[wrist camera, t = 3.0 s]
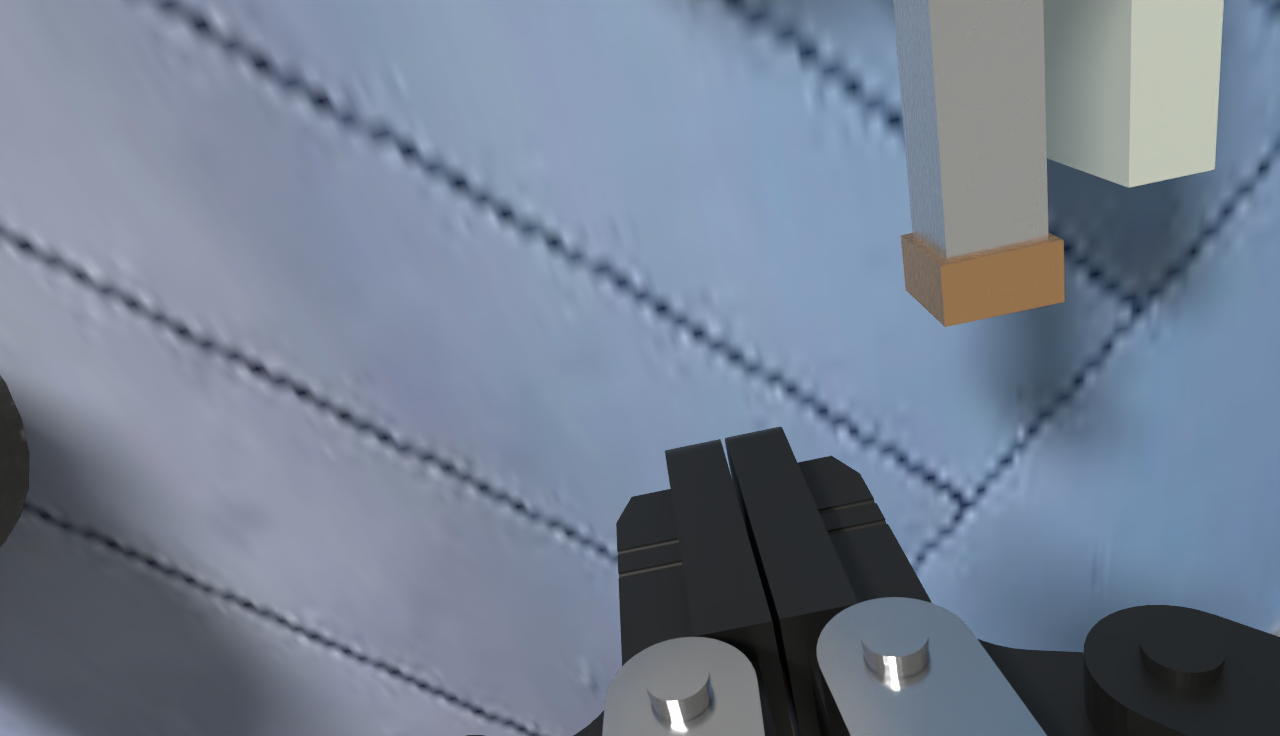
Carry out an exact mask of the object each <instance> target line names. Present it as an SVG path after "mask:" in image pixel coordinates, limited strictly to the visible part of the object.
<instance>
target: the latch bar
mask: <svg viewBox="0 0 1280 736" xmlns="http://www.w3.org/2000/svg"><path fill="white" fill-rule="evenodd" d="M893 8H894V19H895V31H896V43H897V55H898V66H899V78H900V90H901V102H902V113H903V125H904V137H905V149H906V160H907V172H908V184H909V196H910V207H911V219H912V231H913V233H910V234H905V235H901V243H902V254H903V265H904V276H905V287H906V291H907V292H909V293H910V294H911V295H912V296H913V297H914V298H915V299H916V300H917V301H918V302H919V303H920V304H921V305H922V306H923V307H924V308H926V309H927V310H928V311H929V312H930V313H931V314H932V315H933V316H934V317H935V318H936V319H937V320H938V321H939V322H940V323H941V324H943V325H944V326H945V327H947V326H952V325H956V324H961V323H966V322H971V321H975V320H980V319H985V318H990V317H995V316H999V315H1004V314H1009V313H1014V312H1019V311H1023V310H1028V309H1033V308H1038V307H1042V306H1047V305H1052V304H1057V303H1062V302H1065V290H1064V240H1062V239H1060V238H1058V237H1056V236H1054V235H1052V234H1051V233H1049V232H1048V194H1047V148H1046V103H1045V58H1044V12H1043V0H893Z"/></svg>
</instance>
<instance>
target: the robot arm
mask: <svg viewBox="0 0 1280 736" xmlns="http://www.w3.org/2000/svg"><path fill="white" fill-rule="evenodd" d="M725 443H726V450H727V455H728V461H729V466H730V471H731V475H730V471H729V468H728V464H727V461H726V457H725V454H724V450H723V447H722V443H721V440H720V439H719V440H714V441H709V442H705V443H700V444H695V445H690V446H685V447H680V448H675V449H671V450H666V451H665V455H666V461H667V468H668V474H669V481H670V487H671V489H668V490H663V491H658V492H654V493H649V494H644V495H639V496H634V497H631V499H630V501H629V503H628V504H627V506H626V508H625V509H624V511H623V513H622V515H621V516H620V518H619V520H618V521H617V523H616V526H617V550H618V555H619V556H618V573H619V578H620V579H619V598H620V622H621V646H622V667H621V668H620V669H619V671H618V672H617V673H616V675H615V676H614V678H613V679H612V681H611V683H610V685H609V688H608V690H607V694H606V699H605V708H604V711H603V712H602V713H601V714H600V715H599V716H598V717H597V718H596V719H595V720H594V721H593V722H592V723H591V724H589V725H588V726H587V727H586V728H584V729H583V730H581V731H580V732H578V733H577V734H576V735H574V736H793V732H794V736H1280V637H1277V636H1275V635H1272V634H1269V633H1266V632H1263V631H1260V630H1257V629H1254V628H1251V627H1248V626H1246V625H1243V624H1240V623H1237V622H1234V621H1231V620H1228V619H1225V618H1222V617H1220V616H1217V615H1214V614H1210V613H1207V612H1203V611H1200V610H1196V609H1191V608H1186V607H1179V606H1169V605H1146V606H1137V607H1132V608H1127V609H1123V610H1120V611H1117V612H1115V613H1112V614H1110V615H1108V616H1106V617H1105V618H1103V619H1102V620H1100V621H1099V622H1098V623H1097V624H1096V625H1095V626H1094V627H1092V629H1091V630H1090V632H1089V634H1088V635H1087V637H1086V641H1085V644H1084V653H1081V652H1060V651H1039V650H1024V649H1014V648H1008V647H1003V646H998V645H995V644H991V643H988V642H985V641H982V640H979V639H977V638H976V637H975V635H974V634H973V632H972V631H971V630H970V628H969V627H968V626H967V625H966V624H965V623H964V622H963V621H962V620H961V619H960V618H958V617H957V616H956V615H955V614H953V613H952V612H950V611H948V610H946V609H945V608H943V607H940V606H938V605H935V604H933V603H932V602H931V600H930V599H929V597H928V595H927V593H926V591H925V590H924V588H923V586H922V584H921V582H920V581H919V579H918V577H917V575H916V574H915V572H914V570H913V568H912V566H911V565H910V563H909V561H908V559H907V557H906V556H905V554H904V552H903V550H902V548H901V547H900V545H899V543H898V541H897V539H896V538H895V536H894V534H893V532H892V530H891V529H890V527H889V525H888V524H886V521H885V518H884V516H883V514H882V512H881V511H880V509H879V507H878V505H877V504H876V503H875V502H874V498H873V496H872V495H871V493H870V491H869V489H868V487H867V486H866V484H865V482H864V480H863V478H862V477H861V475H860V473H858V472H857V471H855V470H853V469H852V468H850V467H849V466H847V465H845V464H844V463H842V462H841V461H839V460H837V459H836V458H834V457H832V456H828V457H823V458H818V459H814V460H809V461H804V462H799V463H797V461H796V459H795V456H794V454H793V452H792V449H791V447H790V445H789V442H788V440H787V438H786V436H785V433H784V431H783V429H782V427H776V428H771V429H767V430H762V431H757V432H752V433H747V434H742V435H737V436H733V437H728V438H725ZM731 476H732V478H731ZM732 481H733V482H732ZM791 725H792V726H791ZM792 728H793V731H792ZM468 736H483V735H468Z"/></svg>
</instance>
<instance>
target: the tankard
mask: <svg viewBox="0 0 1280 736" xmlns="http://www.w3.org/2000/svg"><path fill="white" fill-rule="evenodd" d="M28 487H29V451H28V446H27V441H26V437H25V432H24V428H23V423H22V419H21V417H20V414H19V412H18V410H17V408H16V405H15V403H14V401H13V399H12V396H11V394H10V392H9V390H8V387H7V385H6V383H5V381H4V380H3V379H2V377H1V376H0V546H1V545H2V544H3V543H4V542H5V541H6V539H7V537H8V536H9V534H10V533H11V531H12V529H13V528H14V526H15V524H16V523H17V521H18V519H19V518H20V515H21V512H22V508H23V505H24V501H25V498H26V494H27V491H28Z"/></svg>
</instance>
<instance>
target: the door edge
mask: <svg viewBox="0 0 1280 736" xmlns="http://www.w3.org/2000/svg"><path fill="white" fill-rule="evenodd" d="M1223 5H1224V0H1043V12H1044V58H1045V103H1046V148H1047V159H1050V160H1052V161H1055V162H1058V163H1061V164H1064V165H1066V166H1069V167H1072V168H1075V169H1078V170H1080V171H1083V172H1086V173H1089V174H1092V175H1094V176H1097V177H1100V178H1103V179H1106V180H1108V181H1111V182H1114V183H1117V184H1120V185H1122V186H1125V187H1128V188H1130V187H1135V186H1140V185H1144V184H1149V183H1154V182H1158V181H1163V180H1168V179H1173V178H1177V177H1182V176H1187V175H1191V174H1196V173H1201V172H1205V171H1210V170H1215V154H1216V136H1217V117H1218V98H1219V80H1220V61H1221V43H1222V24H1223Z"/></svg>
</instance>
